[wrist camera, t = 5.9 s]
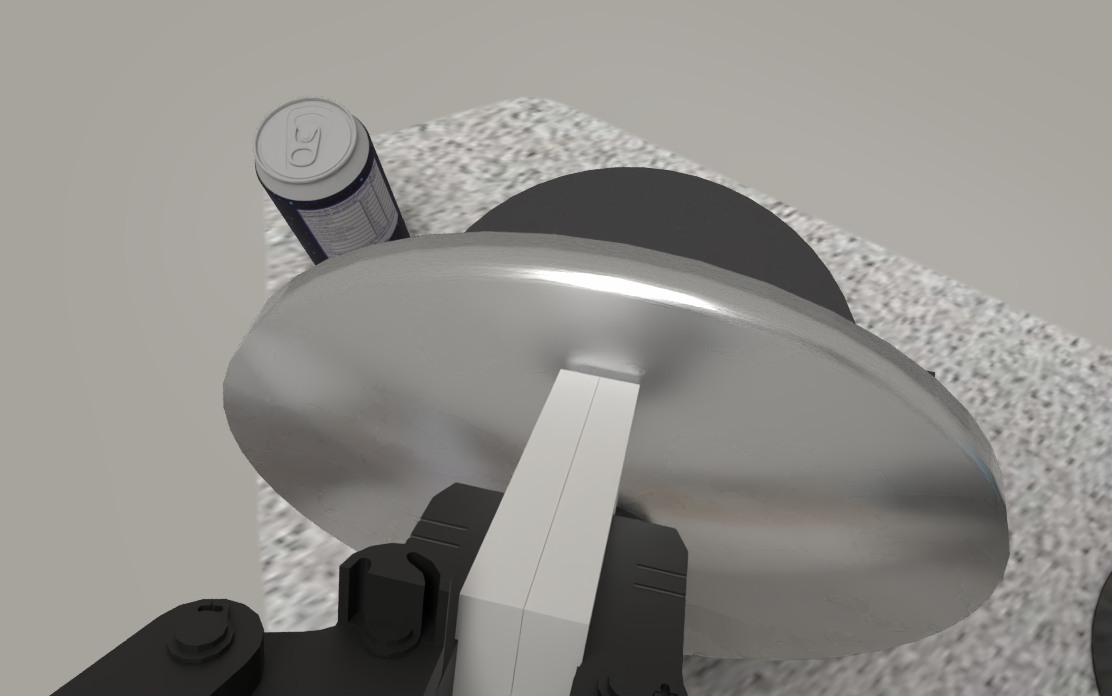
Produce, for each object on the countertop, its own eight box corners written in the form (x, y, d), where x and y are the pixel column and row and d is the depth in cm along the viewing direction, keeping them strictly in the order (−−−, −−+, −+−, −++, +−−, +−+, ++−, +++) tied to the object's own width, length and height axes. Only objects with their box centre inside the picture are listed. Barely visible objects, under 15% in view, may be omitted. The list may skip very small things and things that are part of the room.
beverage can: (420, 220, 49) (372, 89, 38) (409, 303, 47) (355, 189, 36) (330, 218, 50) (256, 87, 39) (315, 301, 48) (233, 187, 36)
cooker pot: (876, 309, 46) (949, 218, 37) (844, 674, 39) (924, 674, 30) (445, 230, 49) (412, 126, 40) (340, 554, 42) (270, 519, 33)
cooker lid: (1235, 354, 13) (1278, 487, 12) (843, 668, 29) (842, 738, 28) (110, 149, 15) (36, 239, 14) (333, 547, 32) (309, 606, 30)
